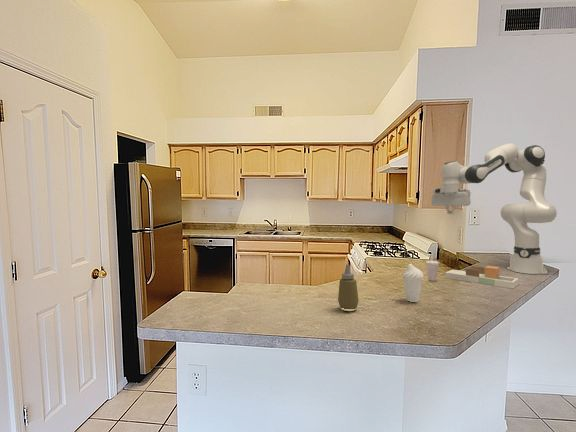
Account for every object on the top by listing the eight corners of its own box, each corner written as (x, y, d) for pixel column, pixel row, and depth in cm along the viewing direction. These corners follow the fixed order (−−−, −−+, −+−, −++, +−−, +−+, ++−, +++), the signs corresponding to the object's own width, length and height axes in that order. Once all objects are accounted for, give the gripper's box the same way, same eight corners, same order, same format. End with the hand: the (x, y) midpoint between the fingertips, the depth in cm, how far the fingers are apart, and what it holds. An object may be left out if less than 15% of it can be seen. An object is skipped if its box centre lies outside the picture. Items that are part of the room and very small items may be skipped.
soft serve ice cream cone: (423, 299, 134) (423, 262, 133) (423, 305, 126) (422, 266, 126) (403, 297, 137) (402, 261, 137) (401, 303, 130) (400, 265, 129)
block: (487, 275, 160) (487, 265, 160) (499, 277, 156) (499, 267, 156) (484, 277, 157) (484, 267, 156) (496, 278, 153) (496, 268, 153)
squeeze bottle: (359, 307, 126) (359, 263, 125) (357, 314, 118) (356, 267, 118) (339, 305, 129) (339, 262, 128) (336, 312, 121) (335, 266, 120)
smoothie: (436, 278, 168) (436, 252, 167) (441, 281, 162) (441, 254, 161) (424, 278, 169) (424, 252, 168) (428, 281, 162) (428, 254, 162)
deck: (452, 274, 176) (452, 263, 175) (518, 284, 153) (518, 271, 153) (445, 277, 169) (445, 266, 169) (513, 288, 146) (513, 275, 146)
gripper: (472, 188, 173) (472, 213, 174) (434, 190, 188) (435, 213, 189) (468, 188, 169) (468, 214, 170) (430, 190, 184) (430, 213, 185)
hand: (450, 213), depth 180 cm, fingers closed
